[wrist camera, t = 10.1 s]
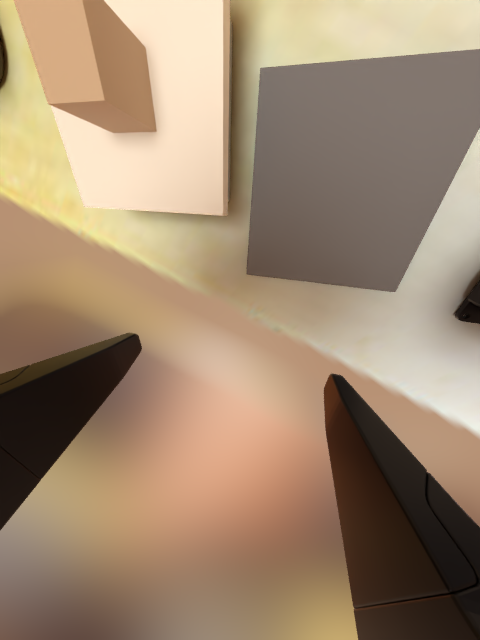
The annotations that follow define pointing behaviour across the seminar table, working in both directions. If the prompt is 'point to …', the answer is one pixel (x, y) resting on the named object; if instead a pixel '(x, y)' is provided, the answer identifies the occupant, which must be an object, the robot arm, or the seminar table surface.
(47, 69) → the lid
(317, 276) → the mat
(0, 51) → the supplement bottle
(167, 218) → the seminar table surface
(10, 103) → the seminar table surface
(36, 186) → the seminar table surface
